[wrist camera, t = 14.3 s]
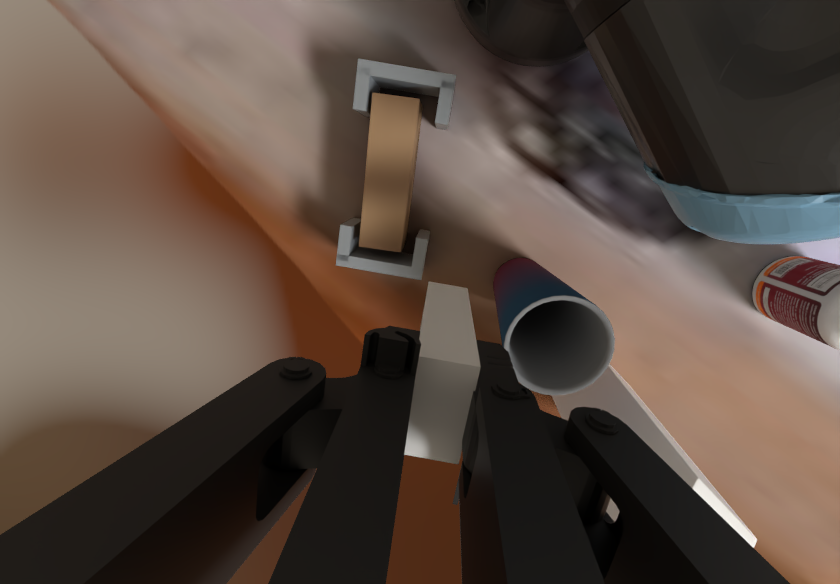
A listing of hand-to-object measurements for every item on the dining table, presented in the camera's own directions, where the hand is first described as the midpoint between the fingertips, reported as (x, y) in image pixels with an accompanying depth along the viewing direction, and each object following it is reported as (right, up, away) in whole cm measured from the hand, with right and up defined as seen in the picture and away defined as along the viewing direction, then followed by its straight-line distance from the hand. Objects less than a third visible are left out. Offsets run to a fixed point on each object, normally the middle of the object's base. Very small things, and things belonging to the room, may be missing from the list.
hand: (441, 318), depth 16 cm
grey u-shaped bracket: (-2, +18, +20) cm, 27 cm away
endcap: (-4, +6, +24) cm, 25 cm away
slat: (-3, +12, +22) cm, 26 cm away
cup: (+9, +2, +25) cm, 26 cm away
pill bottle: (+33, +1, +23) cm, 40 cm away
